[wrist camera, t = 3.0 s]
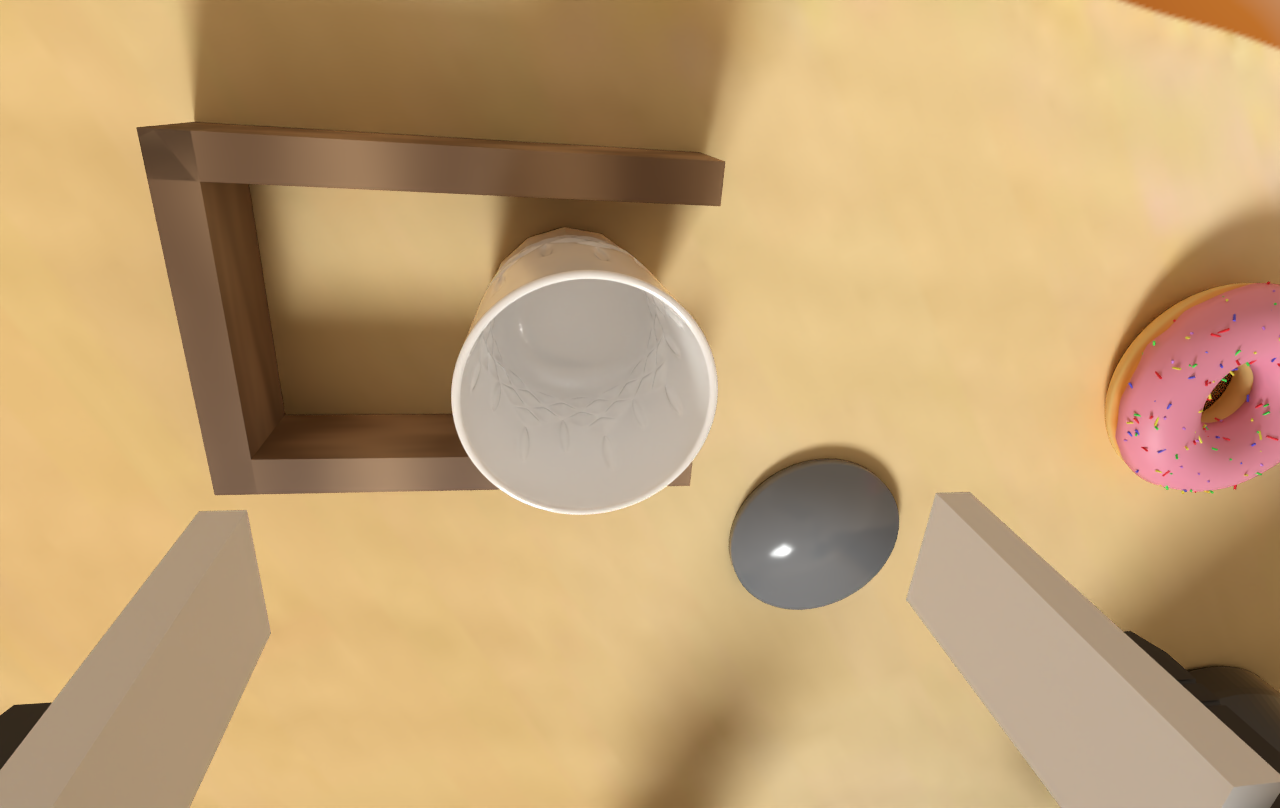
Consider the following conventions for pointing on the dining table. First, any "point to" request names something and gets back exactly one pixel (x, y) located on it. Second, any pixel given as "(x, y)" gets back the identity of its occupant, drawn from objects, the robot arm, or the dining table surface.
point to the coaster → (813, 534)
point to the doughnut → (1201, 391)
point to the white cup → (581, 378)
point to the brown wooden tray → (237, 305)
